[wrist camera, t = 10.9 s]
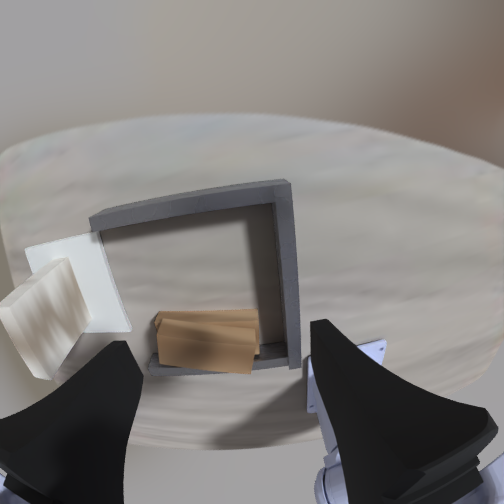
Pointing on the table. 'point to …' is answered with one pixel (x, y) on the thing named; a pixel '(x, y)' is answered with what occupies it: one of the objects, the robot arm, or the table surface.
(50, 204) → the table surface
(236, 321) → the lower oak offcut
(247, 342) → the upper oak offcut
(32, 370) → the white upright pillar
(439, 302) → the table surface
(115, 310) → the white mat
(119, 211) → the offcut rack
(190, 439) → the table surface
